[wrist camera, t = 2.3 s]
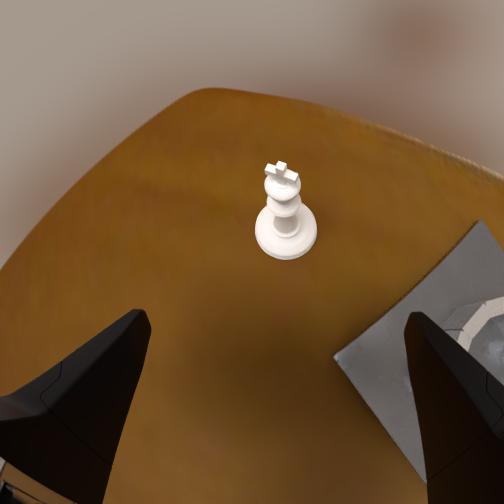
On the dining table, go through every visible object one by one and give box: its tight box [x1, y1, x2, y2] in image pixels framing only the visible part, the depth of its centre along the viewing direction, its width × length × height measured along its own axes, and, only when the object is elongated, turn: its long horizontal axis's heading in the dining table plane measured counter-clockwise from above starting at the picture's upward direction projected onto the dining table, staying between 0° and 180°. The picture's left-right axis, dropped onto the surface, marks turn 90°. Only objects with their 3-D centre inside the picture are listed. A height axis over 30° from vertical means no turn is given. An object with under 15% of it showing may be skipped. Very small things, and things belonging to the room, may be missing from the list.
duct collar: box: [332, 219, 504, 486], centre depth 17 cm, size 18×18×5 cm
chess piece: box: [255, 161, 317, 260], centre depth 19 cm, size 5×5×10 cm
